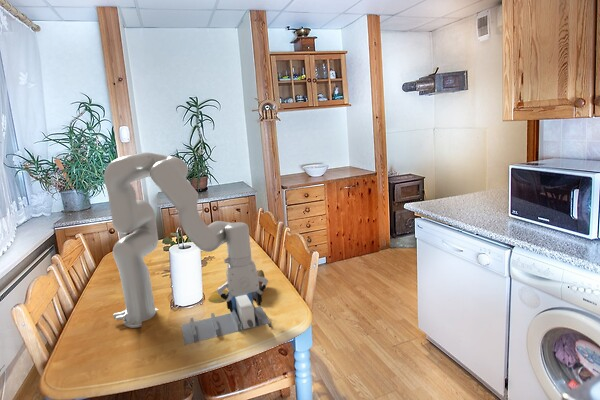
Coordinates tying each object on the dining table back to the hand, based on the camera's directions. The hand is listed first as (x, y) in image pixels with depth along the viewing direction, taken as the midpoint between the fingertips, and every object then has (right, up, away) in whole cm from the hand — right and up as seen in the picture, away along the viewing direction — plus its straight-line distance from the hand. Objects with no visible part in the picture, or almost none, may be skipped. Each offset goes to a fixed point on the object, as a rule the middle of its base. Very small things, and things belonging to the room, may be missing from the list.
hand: (245, 307), depth 133 cm
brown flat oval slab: (+1, -1, +24) cm, 24 cm away
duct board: (-7, -7, 0) cm, 10 cm away
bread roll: (-13, -3, +20) cm, 24 cm away
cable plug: (+1, -5, -1) cm, 5 cm away
